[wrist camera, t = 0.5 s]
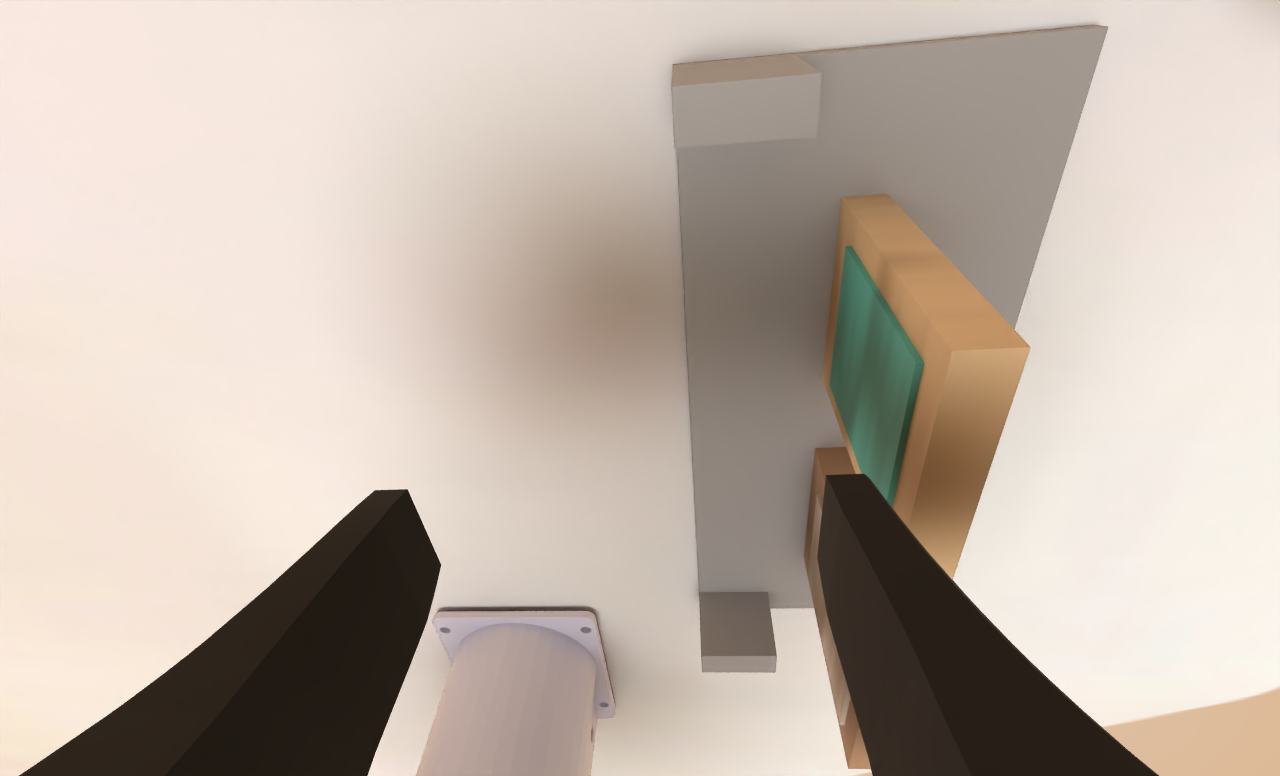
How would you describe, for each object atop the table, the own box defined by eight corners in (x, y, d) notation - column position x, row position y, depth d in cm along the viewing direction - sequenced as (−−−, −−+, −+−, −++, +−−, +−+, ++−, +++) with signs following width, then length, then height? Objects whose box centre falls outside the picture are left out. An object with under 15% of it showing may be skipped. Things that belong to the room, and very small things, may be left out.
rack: (923, 597, 27) (953, 673, 24) (699, 599, 27) (702, 672, 25) (1095, 24, 14) (1202, 39, 11) (672, 64, 15) (671, 86, 12)
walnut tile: (833, 556, 25) (889, 769, 18) (800, 557, 25) (843, 768, 18) (849, 446, 21) (925, 659, 15) (811, 448, 21) (869, 659, 15)
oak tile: (860, 377, 19) (950, 583, 13) (817, 379, 20) (887, 584, 13) (887, 193, 16) (1030, 347, 9) (836, 197, 16) (943, 351, 10)
